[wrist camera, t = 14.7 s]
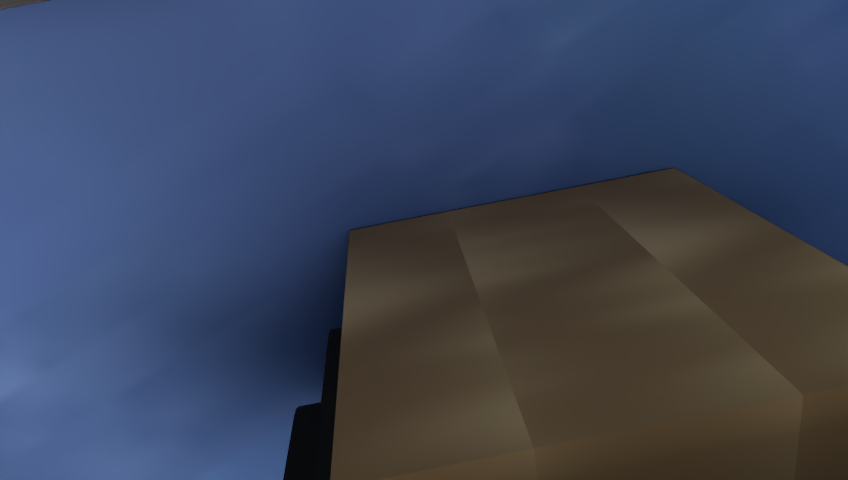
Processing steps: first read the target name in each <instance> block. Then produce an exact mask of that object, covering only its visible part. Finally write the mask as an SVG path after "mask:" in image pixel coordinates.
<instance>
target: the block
mask: <svg viewBox="0 0 848 480" xmlns="http://www.w3.org/2000/svg"><path fill="white" fill-rule="evenodd" d="M330 480H848V266H846V265H844V264H843V263H841V262H839V261H837V260H836V259H834V258H832V257H830V256H829V255H827V254H825V253H823V252H822V251H820V250H818V249H816V248H815V247H813V246H811V245H809V244H808V243H806V242H804V241H802V240H801V239H799V238H797V237H795V236H794V235H792V234H790V233H788V232H787V231H785V230H783V229H781V228H780V227H778V226H776V225H774V224H773V223H771V222H769V221H767V220H766V219H764V218H762V217H760V216H759V215H757V214H755V213H753V212H752V211H750V210H748V209H746V208H745V207H743V206H741V205H739V204H738V203H736V202H734V201H732V200H731V199H729V198H727V197H725V196H724V195H722V194H720V193H718V192H717V191H715V190H713V189H711V188H710V187H708V186H706V185H704V184H703V183H701V182H699V181H697V180H696V179H694V178H692V177H690V176H689V175H687V174H685V173H683V172H682V171H680V170H678V169H676V168H671V169H666V170H661V171H656V172H650V173H645V174H640V175H635V176H630V177H624V178H619V179H614V180H609V181H604V182H599V183H593V184H588V185H583V186H578V187H573V188H567V189H562V190H557V191H552V192H547V193H542V194H536V195H531V196H526V197H521V198H516V199H510V200H505V201H500V202H495V203H490V204H485V205H479V206H474V207H469V208H464V209H459V210H453V211H448V212H443V213H438V214H433V215H428V216H422V217H417V218H412V219H407V220H402V221H396V222H391V223H386V224H381V225H376V226H370V227H365V228H360V229H355V230H350V231H349V244H348V257H347V270H346V283H345V296H344V309H343V322H342V335H341V348H340V361H339V373H338V386H337V399H336V412H335V425H334V438H333V451H332V464H331V477H330Z"/></svg>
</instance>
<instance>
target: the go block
mask: <svg viewBox="0 0 848 480" xmlns="http://www.w3.org/2000/svg"><path fill="white" fill-rule="evenodd" d="M43 1H49V0H0V9H6V8H11V7H17V6H22V5H27V4H33V3H38V2H43Z"/></svg>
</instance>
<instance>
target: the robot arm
mask: <svg viewBox="0 0 848 480" xmlns="http://www.w3.org/2000/svg"><path fill="white" fill-rule="evenodd" d="M341 335H342V327H341V328H336V329H331V330H330V331H329V338H328V346H327V355H326V364H325V373H324V381H323V390H322V399H321V402H320V403H315V404H310V405H304V406H299V407H298V408H297V409H296V412H295V415H294V421H293V426H292V432H291V438H290V444H289V450H288V455H287V461H286V467H285V473H284V478H283V480H330V477H331V464H332V451H333V438H334V425H335V412H336V399H337V386H338V373H339V361H340V348H341Z"/></svg>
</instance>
